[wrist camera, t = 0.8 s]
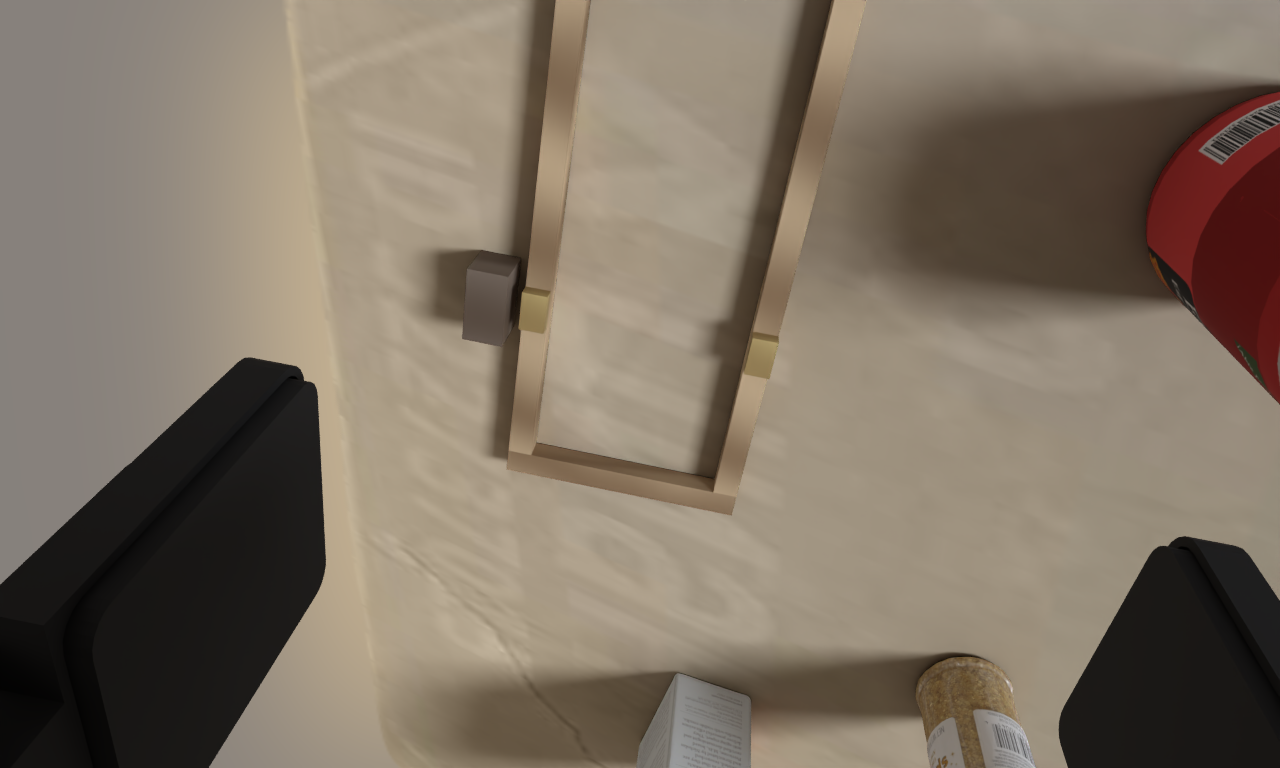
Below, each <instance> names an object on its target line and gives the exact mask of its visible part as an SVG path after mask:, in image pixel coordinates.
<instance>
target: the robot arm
mask: <svg viewBox="0 0 1280 768" xmlns="http://www.w3.org/2000/svg"><path fill="white" fill-rule="evenodd" d="M325 566H326V555H325V534H324V514H323V494H322V474H321V455H320V434H319V413H318V395H317V389H316V387H315V385H314V384H313V383H312V382H307V381H304V377H303V374H302V372H301V370H300V369H299V368H298V367H297V366H292V365H286V364H282V363H276V362H271V361H266V360H260V359H255V358H244V359H242V360H241V361H239V362H238V363H237V364H236V365H235V366H234V367H233V368H231V369H230V370H229V371H228V372H227V373H226V374H225V375H224V376H223V377H222V378H221V379H220V380H219V381H218V382H217V383H215V384H214V385H213V386H212V387H211V388H210V389H209V390H208V391H207V392H206V393H205V394H204V395H203V396H202V397H201V398H200V399H198V400H197V401H196V402H195V403H194V404H193V405H192V406H191V407H190V408H189V409H188V410H187V411H186V412H185V413H184V414H183V415H182V416H180V417H179V418H178V419H177V420H176V421H175V422H174V423H173V424H172V425H171V426H170V427H169V428H168V429H167V430H166V431H165V432H163V433H162V434H161V435H160V436H159V437H158V438H157V439H156V440H155V441H154V442H153V443H152V444H151V445H150V446H149V447H148V448H147V449H145V450H144V451H143V452H142V453H141V454H140V455H139V456H138V457H137V458H136V459H135V460H134V461H133V462H132V463H131V464H129V465H128V466H126V467H125V468H124V469H123V470H122V471H121V472H120V473H119V474H118V475H116V476H115V477H114V478H113V479H112V480H111V481H110V482H109V483H108V484H107V485H106V486H105V487H104V488H103V489H102V490H100V491H99V492H98V493H97V494H96V495H95V496H94V497H93V498H92V499H91V500H90V501H89V502H88V503H87V504H86V505H85V506H83V508H81V509H80V510H79V511H78V512H77V513H76V514H75V515H74V516H73V517H72V518H71V519H70V520H69V521H68V522H66V523H65V524H64V525H63V526H62V527H61V528H60V529H59V530H58V531H57V532H56V533H55V534H54V535H53V536H52V537H51V538H49V539H48V540H47V541H46V542H45V543H44V544H43V545H42V546H41V547H40V548H39V549H38V550H37V551H36V552H35V553H33V554H32V555H31V556H30V557H29V558H28V559H27V560H26V561H25V562H24V563H23V564H22V565H21V566H20V567H19V568H18V569H17V570H15V572H13V573H12V574H11V575H10V576H9V577H8V578H7V579H6V580H5V581H4V582H3V583H2V584H0V768H209V766H210V765H211V763H212V761H213V760H214V758H215V756H216V755H217V753H218V751H219V750H220V749H221V747H222V745H223V744H224V742H225V741H226V739H227V737H228V735H229V734H230V732H231V731H232V729H233V728H234V726H235V724H236V723H237V721H238V720H239V718H240V716H241V715H242V713H243V712H244V710H245V708H246V707H247V705H248V704H249V702H250V700H251V699H252V697H253V696H254V694H255V692H256V691H257V689H258V687H259V686H260V684H261V683H262V681H263V679H264V678H265V676H266V675H267V673H268V671H269V670H270V668H271V667H272V665H273V663H274V662H275V660H276V658H277V657H278V655H279V654H280V652H281V651H282V649H283V647H284V646H285V644H286V642H287V641H288V639H289V638H290V636H291V634H292V633H293V631H294V630H295V628H296V626H297V625H298V623H299V622H300V620H301V618H302V617H303V615H304V614H305V612H306V610H307V609H308V607H309V605H310V604H311V602H312V601H313V599H314V597H315V596H316V594H317V592H318V590H319V588H320V586H321V583H322V580H323V576H324V572H325ZM1059 739H1060V743H1061V747H1062V750H1063V753H1064V756H1065V760H1066V763H1067V766H1068V768H1280V601H1279V599H1278V598H1277V596H1276V595H1275V593H1274V592H1273V590H1272V589H1271V587H1270V586H1269V584H1268V583H1267V581H1266V580H1265V578H1264V577H1263V575H1262V574H1261V572H1260V571H1259V569H1258V568H1257V566H1256V565H1255V563H1254V562H1253V560H1252V559H1251V557H1250V556H1249V555H1248V554H1247V553H1246V552H1245V551H1244V550H1243V549H1242V548H1239V547H1237V546H1233V545H1228V544H1223V543H1218V542H1212V541H1207V540H1202V539H1197V538H1191V537H1186V536H1184V537H1178V538H1177V539H1175V540H1174V541H1172V542H1171V543H1170V545H1169V546H1168V547H1167V546H1159V547H1157V548H1156V549H1154V550H1153V552H1152V553H1151V554H1150V556H1149V557H1148V559H1147V561H1146V563H1145V565H1144V566H1143V568H1142V570H1141V572H1140V573H1139V575H1138V577H1137V579H1136V580H1135V582H1134V584H1133V586H1132V588H1131V589H1130V591H1129V593H1128V595H1127V596H1126V598H1125V600H1124V602H1123V603H1122V605H1121V607H1120V609H1119V610H1118V612H1117V614H1116V616H1115V618H1114V619H1113V621H1112V623H1111V625H1110V626H1109V628H1108V630H1107V632H1106V633H1105V635H1104V637H1103V639H1102V640H1101V642H1100V644H1099V646H1098V648H1097V649H1096V651H1095V653H1094V655H1093V656H1092V658H1091V660H1090V662H1089V663H1088V665H1087V667H1086V669H1085V670H1084V672H1083V674H1082V676H1081V678H1080V679H1079V681H1078V683H1077V685H1076V686H1075V688H1074V690H1073V692H1072V693H1071V695H1070V697H1069V699H1068V700H1067V702H1066V704H1065V706H1064V708H1063V710H1062V712H1061V716H1060V721H1059Z"/></svg>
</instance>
